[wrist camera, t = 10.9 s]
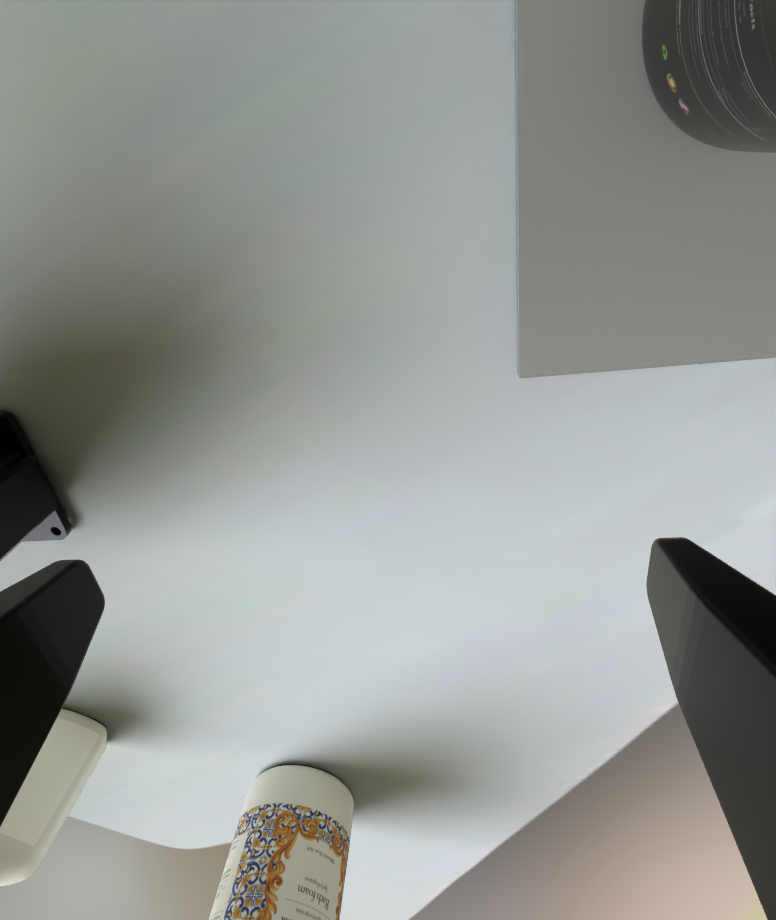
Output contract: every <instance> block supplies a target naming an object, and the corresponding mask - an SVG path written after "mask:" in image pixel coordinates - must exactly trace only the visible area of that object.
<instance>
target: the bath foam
mask: <svg viewBox="0 0 776 920" xmlns="http://www.w3.org/2000/svg"><path fill="white" fill-rule="evenodd" d="M353 813H354V801H353V797H352V795H351V793H350V791H349V790H348V788H347V787H346V786H345V785H344V784H343V783H342V782H341V781H340V780H338V779H337V778H335V777H334V776H332V775H330V774H328V773H326V772H324V771H321V770H318V769H315V768H311V767H307V766H299V765H284V766H278V767H274V768H271V769H268V770H267V771H265V772H263V773H261V774H260V775H259V776H257V777H256V778H255V779H254V781H253V782H252V784H251V786H250V788H249V791H248V794H247V798H246V801H245V804H244V807H243V811H242V814H241V817H240V820H239V823H238V826H237V829H236V833H235V836H234V839H233V842H232V846H231V849H230V852H229V855H228V859H227V862H226V865H225V869H224V872H223V875H222V879H221V882H220V885H219V888H218V892H217V895H216V899H215V901H214V904H213V908H212V911H211V915H210V918H209V920H339V918H340V910H341V903H342V896H343V889H344V881H345V874H346V867H347V859H348V852H349V845H350V836H351V828H352V821H353Z"/></svg>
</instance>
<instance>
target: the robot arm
mask: <svg viewBox="0 0 776 920" xmlns="http://www.w3.org/2000/svg"><path fill="white" fill-rule="evenodd" d="M2 422H4V423H5V424H6V426H5V425H4V424H3V423H2ZM58 528H59V529H58ZM70 532H71V525H70V523H69V521H68V519H67V517H66V515H65V513H64V511H63V509H62V507H61V505H60V503H59V501H58V499H57V497H56V496H55V494H54V492H53V490H52V488H51V486H50V484H49V482H48V480H47V478H46V476H45V474H44V472H43V470H42V468H41V466H40V464H39V462H38V460H37V458H36V456H35V454H34V452H33V450H32V448H31V446H30V444H29V442H28V440H27V438H26V436H25V434H24V432H23V430H22V428H21V426H20V424H19V422H18V420H17V419H16V417H15V416H13V415H12V414H11V413H9V412H6V411H0V561H1V560H2V559H3V558H4V557H5V556H7V555H8V554H9V553H10V552H11V551H12V550H13V549H14V548H15V547H16V546H17V545H18V544H19V543H20V542H22V541H44V540H61V539H64V538H65V537H66V536H67V535H68V534H69V533H70ZM647 594H648V599H649V603H650V606H651V610H652V613H653V617H654V620H655V624H656V628H657V631H658V635H659V638H660V642H661V645H662V649H663V652H664V656H665V659H666V663H667V667H668V670H669V674H670V677H671V681H672V684H673V687H674V690H675V694H676V697H677V699H678V702H679V705H680V707H681V710H682V712H683V715H684V717H685V720H686V722H687V725H688V727H689V730H690V732H691V734H692V737H693V739H694V742H695V744H696V747H697V749H698V751H699V754H700V756H701V759H702V761H703V764H704V766H705V768H706V771H707V773H708V775H709V778H710V781H711V783H712V785H713V788H714V790H715V792H716V795H717V798H718V800H719V802H720V805H721V807H722V810H723V812H724V814H725V817H726V819H727V822H728V824H729V827H730V829H731V832H732V834H733V836H734V839H735V841H736V844H737V846H738V849H739V851H740V853H741V856H742V858H743V861H744V863H745V866H746V868H747V870H748V873H749V875H750V877H751V880H752V882H753V885H754V887H755V890H756V892H757V895H758V897H759V900H760V902H761V904H762V907H763V909H764V912H765V914H766V917H767V919H768V920H776V595H774V594H773V593H771V592H770V591H768V590H767V589H765V588H764V587H762V586H760V585H759V584H757V583H756V582H754V581H753V580H751V579H750V578H748V577H746V576H745V575H743V574H742V573H740V572H739V571H737V570H736V569H734V568H732V567H731V566H729V565H728V564H726V563H725V562H723V561H722V560H720V559H718V558H717V557H715V556H714V555H712V554H711V553H709V552H708V551H706V550H704V549H703V548H701V547H700V546H698V545H697V544H695V543H694V542H692V541H690V540H689V539H687V538H682V537H677V538H658V539H656V540H655V541H654V542H653V544H652V548H651V554H650V562H649V569H648V576H647ZM104 605H105V599H104V595H103V593H102V591H101V589H100V587H99V585H98V583H97V581H96V579H95V577H94V575H93V573H92V571H91V569H90V567H89V565H88V564H87V563H86V562H84V561H82V560H60V561H56V562H54V563H52V564H51V565H49V566H47V567H45V568H43V569H41V570H39V571H38V572H36V573H34V574H32V575H30V576H28V577H27V578H25V579H23V580H21V581H19V582H17V583H16V584H14V585H12V586H10V587H8V588H6V589H5V590H3V591H1V592H0V827H1V825H2V823H3V821H4V819H5V817H6V815H7V813H8V812H9V810H10V808H11V806H12V804H13V802H14V800H15V798H16V796H17V794H18V792H19V790H20V788H21V787H22V785H23V783H24V781H25V779H26V777H27V775H28V773H29V771H30V769H31V767H32V765H33V763H34V762H35V760H36V758H37V756H38V754H39V752H40V750H41V748H42V746H43V744H44V742H45V740H46V738H47V737H48V735H49V733H50V731H51V729H52V727H53V725H54V723H55V721H56V719H57V717H58V715H59V713H60V711H61V710H62V708H63V706H64V703H65V701H66V699H67V697H68V695H69V693H70V691H71V689H72V686H73V684H74V682H75V679H76V677H77V674H78V672H79V669H80V667H81V665H82V662H83V660H84V657H85V655H86V652H87V650H88V647H89V645H90V642H91V640H92V638H93V635H94V633H95V630H96V628H97V625H98V623H99V620H100V618H101V615H102V613H103V610H104Z"/></svg>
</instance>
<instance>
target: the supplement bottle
mask: <svg viewBox="0 0 776 920" xmlns="http://www.w3.org/2000/svg"><path fill="white" fill-rule="evenodd" d="M642 49H643V59H644V64H645V70H646V74H647V77H648V81H649V84H650V86H651V89H652V91H653V94H654V96H655V98H656V100H657V102H658V103H659V105H660V107H661V108H662V110H663V111H664V113H665V114H666V115H667V117H668V118H669V119H670V120H671V121H672V122H673V123H674V124H675V125H676V126H677V127H678V128H679V129H680V130H682V131H683V132H684V133H686V134H687V135H689V136H690V137H692V138H693V139H695V140H697V141H700V142H702V143H704V144H707V145H710V146H713V147H716V148H721V149H726V150H732V151H744V152H763V153H776V0H645V4H644V10H643V20H642Z"/></svg>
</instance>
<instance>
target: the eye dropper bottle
mask: <svg viewBox="0 0 776 920" xmlns="http://www.w3.org/2000/svg"><path fill="white" fill-rule="evenodd" d="M106 744H107V731H106V729H105V727H104V726H103V725H101V724H100V723H98V722H97V721H95V720H93V719H90V718H88V717H86V716H84V715H81V714H78V713H76V712H73V711H69V710H66V709H62V710H61V711H60V713H59V715H58V717H57V719H56V721H55V723H54V725H53V727H52V729H51V731H50V733H49V735H48V737H47V738H46V740H45V742H44V744H43V746H42V748H41V750H40V752H39V754H38V756H37V758H36V760H35V762H34V763H33V765H32V767H31V769H30V771H29V773H28V775H27V777H26V779H25V781H24V783H23V785H22V787H21V788H20V790H19V792H18V794H17V796H16V798H15V800H14V802H13V804H12V806H11V808H10V810H9V812H8V813H7V815H6V817H5V819H4V821H3V823H2V825H1V827H0V886H4V885H9V884H13V883H17V882H20V881H22V880H25V879H26V878H28V877H29V876H30V875H31V874H33V873H34V871H35V870H36V869H37V867H38V866H39V864H40V863H41V861H42V860H43V858H44V856H45V855H46V853H47V851H48V849H49V848H50V846H51V844H52V843H53V841H54V839H55V837H56V836H57V834H58V832H59V830H60V829H61V827H62V825H63V823H64V821H65V819H66V818H67V816H68V814H69V813H70V811H71V809H72V807H73V806H74V804H75V802H76V800H77V799H78V797H79V795H80V793H81V792H82V790H83V788H84V786H85V784H86V783H87V781H88V779H89V777H90V776H91V774H92V772H93V770H94V769H95V767H96V765H97V763H98V761H99V760H100V758H101V756H102V754H103V753H104V751H105V749H106Z"/></svg>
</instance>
